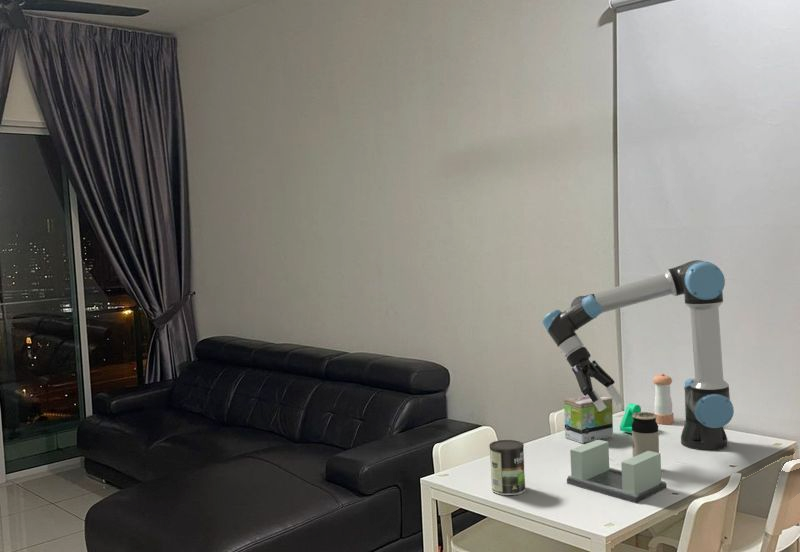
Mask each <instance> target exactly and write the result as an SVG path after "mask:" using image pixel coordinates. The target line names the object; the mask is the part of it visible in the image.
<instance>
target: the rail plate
mask: <svg viewBox="0 0 800 552" xmlns="http://www.w3.org/2000/svg"><path fill="white" fill-rule="evenodd" d="M566 484H568V485H570V486H571V485H572V486H575V487H579V488H583V489H586V490H589V491H593V492H595V493H600V494H603V495H605V496H606V495H607V496H610V497H613V498H617V499H620V500H623V501H626V502H627V501H628V502H631V503H634V504H637V503H639V502H642V501H643V500H646V499H647V498H650V497H651V496H653V495H655V494H657V493H660V492H662V491H664V490H665V489H667V483H666V481H664V480H661V484H659V485H657V486H655V487H653V488H651V489H648V490H646V491H644V492H642V493H640V494H633V493H629V492H625V491H622V469H617V468H612V467H610V466H609V468H608V471H606V472H603V473H601V474H599V475H596V476H594V477H592V478H589V479H587V480H584V479H578V478H575V477H571V475H568V476H567V478H566Z"/></svg>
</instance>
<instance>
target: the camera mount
mask: <svg viewBox="0 0 800 552" xmlns="http://www.w3.org/2000/svg"><path fill="white" fill-rule="evenodd" d="M641 407H642V406H641V405H639V404H636V403H628V404H627V405H626V408H625V411H624V414H623V417H622V420H621V421H620V425H619V431H621V432H625V433H628V434H629V433H630V434H632V423H633V421H634V419H633V417H632V414H634V413H638V412H642V408H641Z"/></svg>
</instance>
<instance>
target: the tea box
mask: <svg viewBox="0 0 800 552" xmlns="http://www.w3.org/2000/svg"><path fill="white" fill-rule="evenodd" d="M598 395H599V397H600V398H601V400H602V401H603V402H604V404H605V405H606V407H607V408H605V409H604V410H602V411H601V412H599V411H598V409H597V408H596V406H595V405H594V403H593V402H592V400H591V399H590V397H589V396H588V394H587V395H586V396H585V395H581V396H576V397H571V398H566V399H565V398H564V400H563V401H564V402H563V403H564V406H563V407H564V408H563V409H564V411H563V412H564V438H566V439H568V440H571V441H573V440H574V442H576V441H577V443H579V442H581V443H580V444H584V442H585V443H590V442H592V441H595V440H597V439H598V440H603V439H609V438H612V437H614V433H613V432H614V429H613V428H614V424H613V423H614V422H613V421H614V419H613V399H612V397H608V396H604V395H600V394H598ZM608 437H609V438H608ZM602 438H603V439H602Z"/></svg>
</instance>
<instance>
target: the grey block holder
mask: <svg viewBox="0 0 800 552" xmlns="http://www.w3.org/2000/svg"><path fill="white" fill-rule="evenodd" d="M609 444H610V443H609V441H607V440H606V441H605V440H603V439H598V440H593V441H589V442H586V443H585V444H584V443H583V444H582V445H580V446H577V447H574V448H571V449H570V450H569V451H570V472H571V474H570V476H571V477H575V478H578V479H584V480H587V479H589V478H592V477H594V476H596V475H599V474H601V473H603V472H606V471H608V468H609V467H610V452H609V451H610V450H609V449H610V448H609V447H610V446H609ZM661 458H662V457H661V453H660V452H659V453H656V452H652V451H647V452H644V453H642V454H639V455H637V456H635V457H633V456H632V457H630V458H628V459H625V460H623V461H621V467H620V468H621V471H622V491H625V492H629V493H633V494H640V493H642V492H644V491H646V490H648V489H651V488H653V487H655V486H657V485H659V484H661V481H662V459H661Z"/></svg>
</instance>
